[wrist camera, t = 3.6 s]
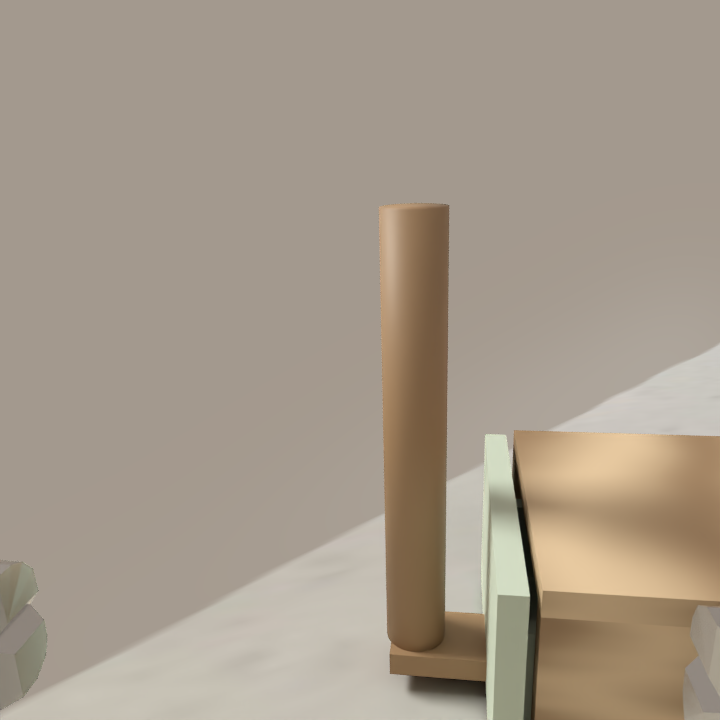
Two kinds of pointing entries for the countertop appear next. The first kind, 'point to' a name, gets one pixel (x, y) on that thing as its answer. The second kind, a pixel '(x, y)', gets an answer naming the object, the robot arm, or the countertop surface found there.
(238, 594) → the countertop surface
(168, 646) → the countertop surface
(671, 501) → the tan wooden block
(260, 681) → the countertop surface
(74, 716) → the countertop surface
